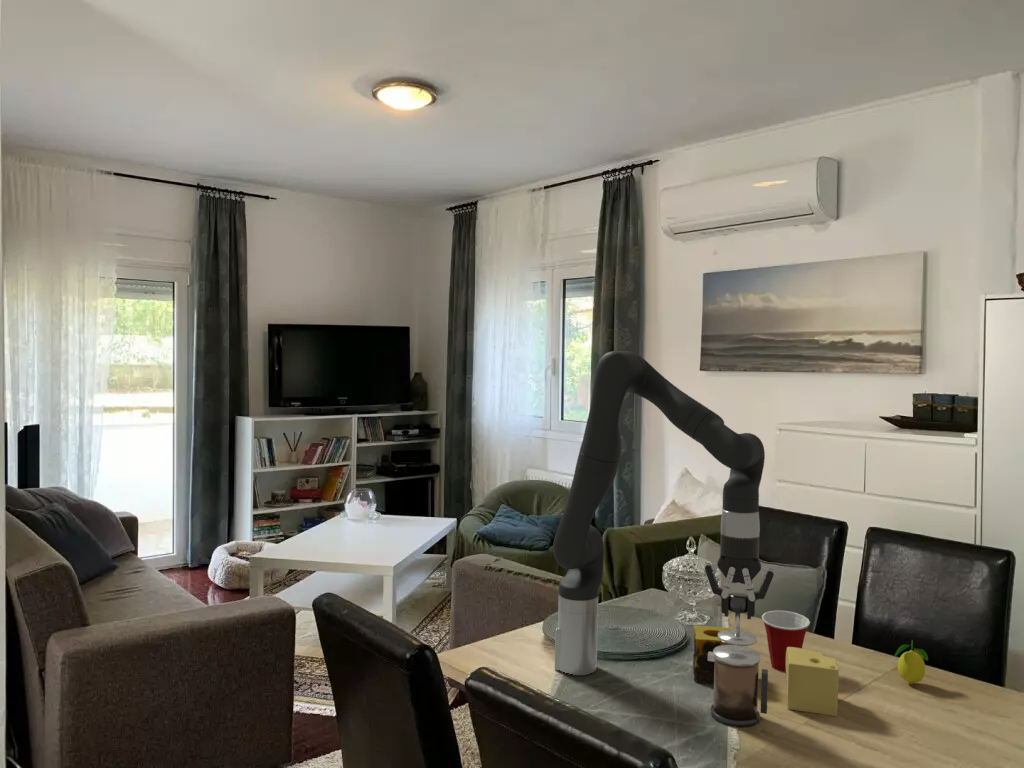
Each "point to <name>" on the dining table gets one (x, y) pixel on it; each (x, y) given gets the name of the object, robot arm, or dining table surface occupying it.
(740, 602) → the plunger
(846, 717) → the dining table surface
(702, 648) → the yellow patterned cube
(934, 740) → the dining table surface
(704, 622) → the dining table surface
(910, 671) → the lemon
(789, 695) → the cheese
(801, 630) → the plastic cup
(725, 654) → the carafe
